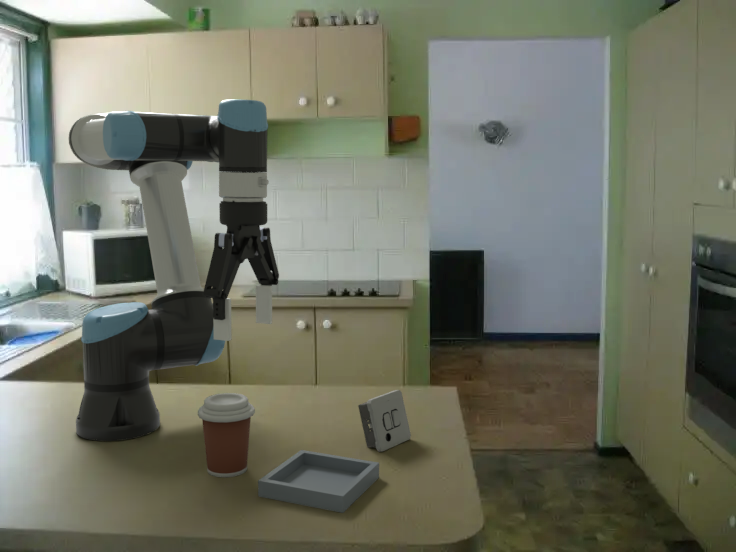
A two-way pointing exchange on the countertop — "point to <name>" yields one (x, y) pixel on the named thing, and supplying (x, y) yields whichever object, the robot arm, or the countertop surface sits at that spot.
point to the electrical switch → (385, 421)
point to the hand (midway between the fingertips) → (244, 331)
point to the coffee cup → (226, 433)
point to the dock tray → (319, 480)
